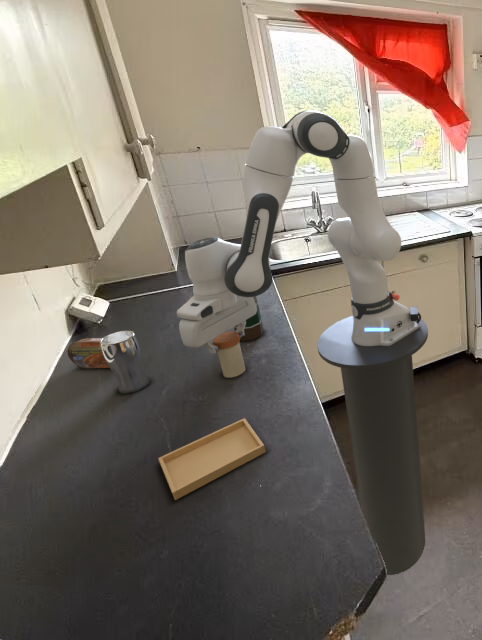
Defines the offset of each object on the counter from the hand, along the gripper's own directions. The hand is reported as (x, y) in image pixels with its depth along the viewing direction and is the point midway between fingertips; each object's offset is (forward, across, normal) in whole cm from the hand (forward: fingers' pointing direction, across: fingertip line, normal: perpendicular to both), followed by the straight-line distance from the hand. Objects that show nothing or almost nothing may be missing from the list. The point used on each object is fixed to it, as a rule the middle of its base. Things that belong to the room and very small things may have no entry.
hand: (227, 344), depth 116 cm
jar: (+9, 0, 0) cm, 9 cm away
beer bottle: (+9, -17, -11) cm, 22 cm away
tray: (+9, +26, +21) cm, 35 cm away
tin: (+9, +7, -38) cm, 39 cm away
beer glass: (+9, +12, -20) cm, 25 cm away
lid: (-2, 0, 0) cm, 2 cm away
